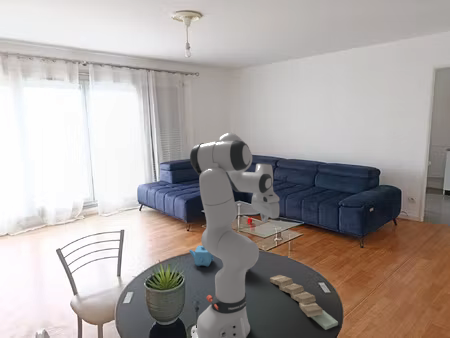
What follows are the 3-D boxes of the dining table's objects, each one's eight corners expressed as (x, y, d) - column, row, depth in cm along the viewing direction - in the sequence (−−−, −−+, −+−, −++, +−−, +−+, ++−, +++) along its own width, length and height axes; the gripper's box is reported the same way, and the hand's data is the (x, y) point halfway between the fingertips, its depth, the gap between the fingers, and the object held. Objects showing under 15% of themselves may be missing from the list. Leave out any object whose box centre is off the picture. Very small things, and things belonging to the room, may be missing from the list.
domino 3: (302, 294, 138) (315, 300, 128) (290, 297, 136) (303, 304, 127) (301, 289, 138) (315, 296, 129) (290, 293, 136) (302, 299, 127)
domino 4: (313, 305, 129) (323, 314, 119) (299, 307, 129) (308, 317, 119) (312, 300, 130) (322, 309, 120) (299, 302, 129) (307, 311, 119)
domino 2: (289, 286, 145) (303, 290, 136) (279, 289, 143) (293, 294, 134) (289, 281, 145) (303, 286, 136) (278, 285, 143) (292, 290, 134)
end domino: (319, 311, 127) (337, 326, 118) (308, 316, 124) (325, 331, 115) (319, 307, 126) (337, 321, 117) (308, 311, 124) (325, 326, 115)
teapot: (212, 271, 161) (211, 253, 159) (186, 270, 163) (185, 253, 161) (217, 256, 179) (216, 239, 177) (193, 255, 180) (192, 239, 179)
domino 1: (280, 278, 152) (292, 283, 143) (270, 282, 149) (282, 286, 140) (279, 274, 152) (292, 278, 143) (269, 278, 149) (281, 282, 140)
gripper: (248, 191, 160) (248, 217, 162) (270, 200, 142) (270, 229, 144) (258, 190, 163) (258, 215, 165) (281, 198, 145) (281, 226, 147)
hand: (264, 221), depth 154 cm, fingers closed
